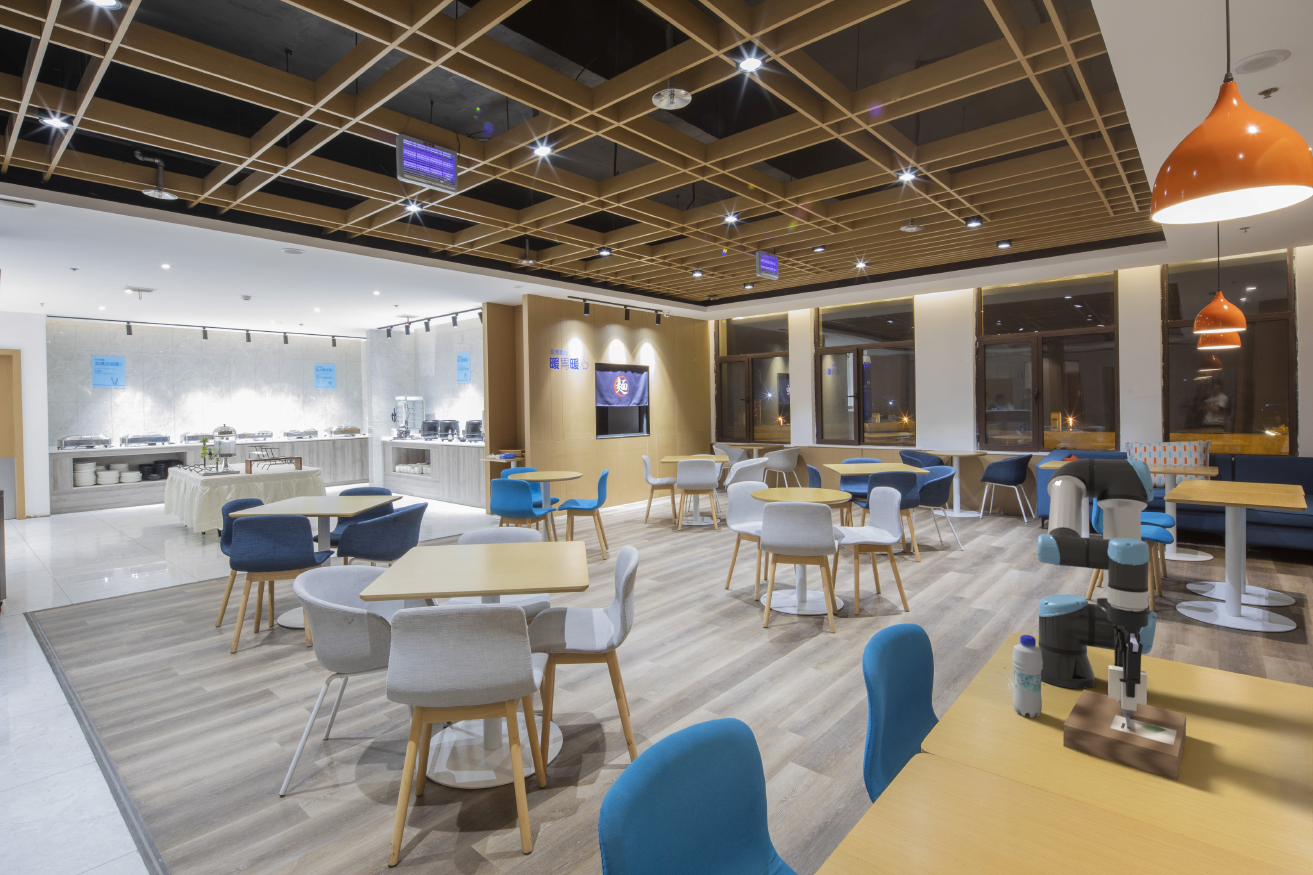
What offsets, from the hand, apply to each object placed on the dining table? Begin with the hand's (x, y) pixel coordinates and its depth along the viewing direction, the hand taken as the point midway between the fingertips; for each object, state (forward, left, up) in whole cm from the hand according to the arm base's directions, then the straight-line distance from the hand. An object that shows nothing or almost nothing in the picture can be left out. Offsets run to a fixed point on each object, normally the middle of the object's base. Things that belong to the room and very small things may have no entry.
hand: (1126, 705), depth 145 cm
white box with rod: (+1, -3, -2) cm, 4 cm away
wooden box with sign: (0, -2, -8) cm, 8 cm away
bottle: (-20, -2, -8) cm, 21 cm away
